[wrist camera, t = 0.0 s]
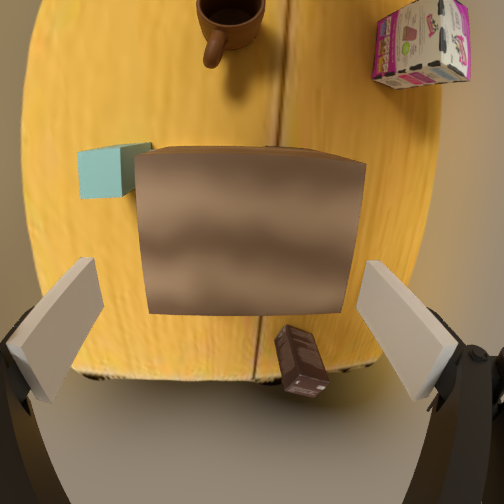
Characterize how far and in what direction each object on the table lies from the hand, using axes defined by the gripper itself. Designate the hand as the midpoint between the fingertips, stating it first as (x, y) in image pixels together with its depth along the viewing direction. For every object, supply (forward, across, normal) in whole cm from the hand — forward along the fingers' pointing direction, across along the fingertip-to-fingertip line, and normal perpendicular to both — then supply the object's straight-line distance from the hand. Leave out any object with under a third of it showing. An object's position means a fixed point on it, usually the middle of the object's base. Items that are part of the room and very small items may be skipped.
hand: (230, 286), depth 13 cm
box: (+28, +12, -27) cm, 41 cm away
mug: (+28, -1, +20) cm, 35 cm away
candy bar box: (+28, +23, +22) cm, 42 cm away
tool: (+28, -7, +3) cm, 29 cm away
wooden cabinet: (+28, +2, -2) cm, 28 cm away
